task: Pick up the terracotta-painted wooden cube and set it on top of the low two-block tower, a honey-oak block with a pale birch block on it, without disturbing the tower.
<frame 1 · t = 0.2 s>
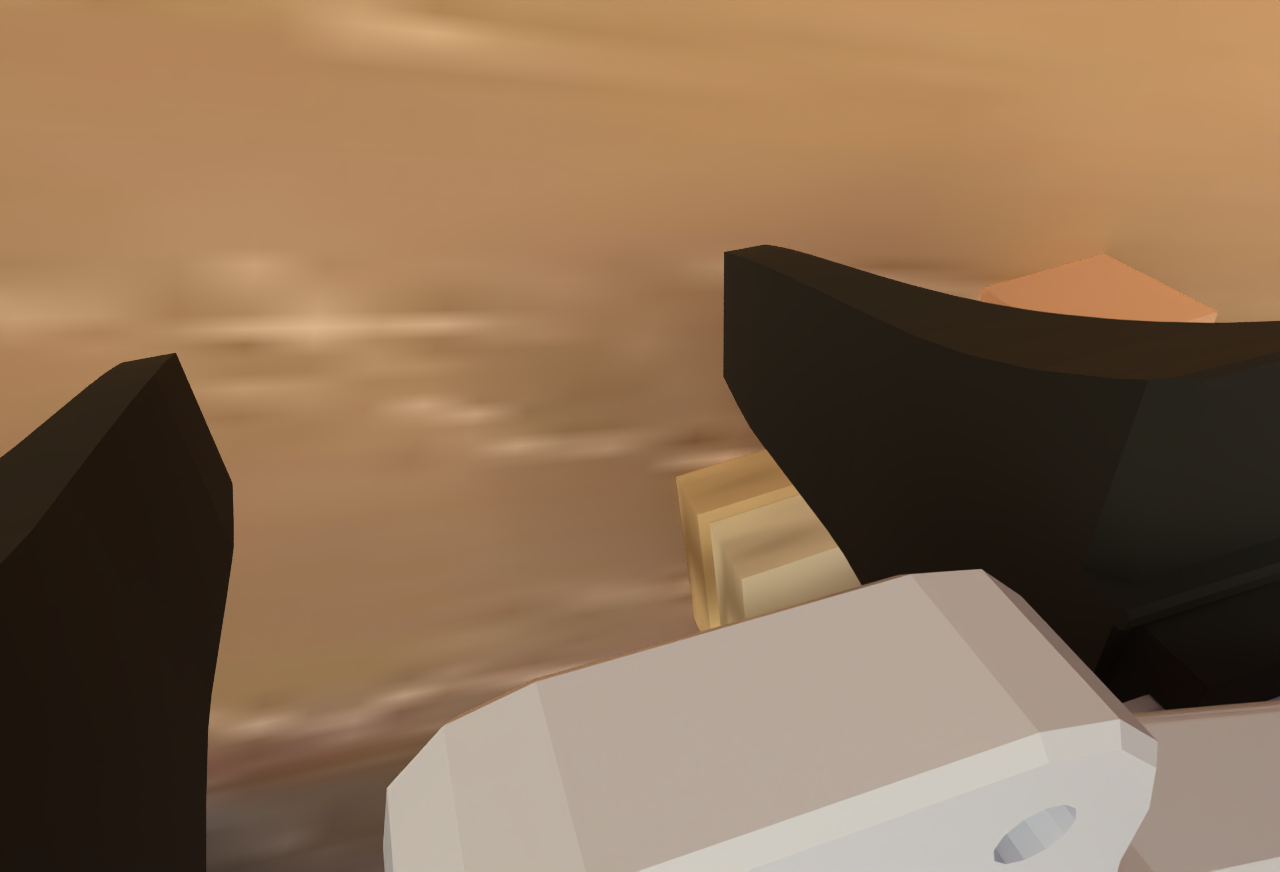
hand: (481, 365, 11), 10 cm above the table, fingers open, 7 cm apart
top block: (799, 561, 28), point 2 cm above the table, touching bottom block
bottom block: (772, 514, 30), on the table, touching top block
cube: (1031, 329, 28), on the table
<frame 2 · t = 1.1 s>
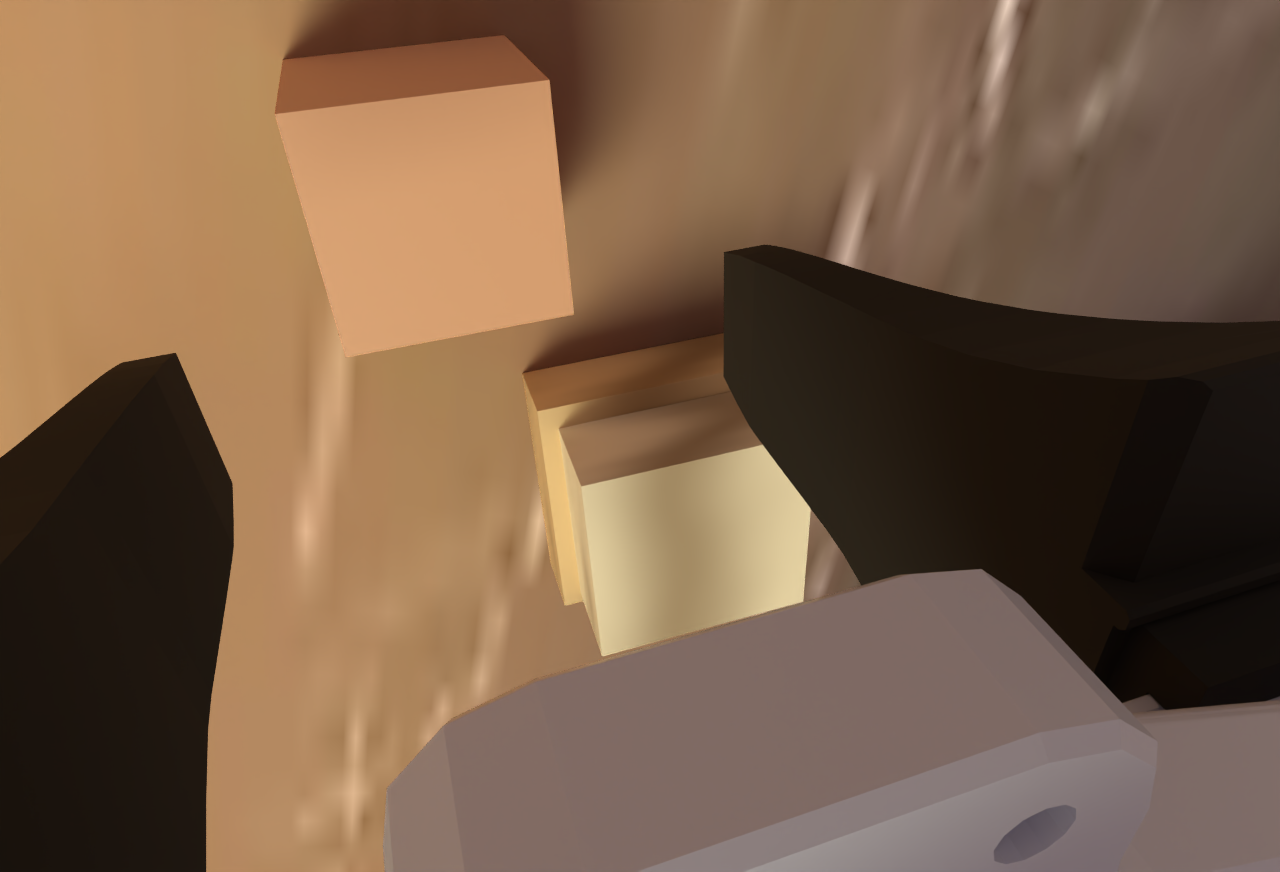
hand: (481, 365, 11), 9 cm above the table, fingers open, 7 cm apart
top block: (673, 492, 24), point 2 cm above the table, touching bottom block
bottom block: (645, 439, 26), on the table, touching top block
cube: (418, 155, 19), on the table
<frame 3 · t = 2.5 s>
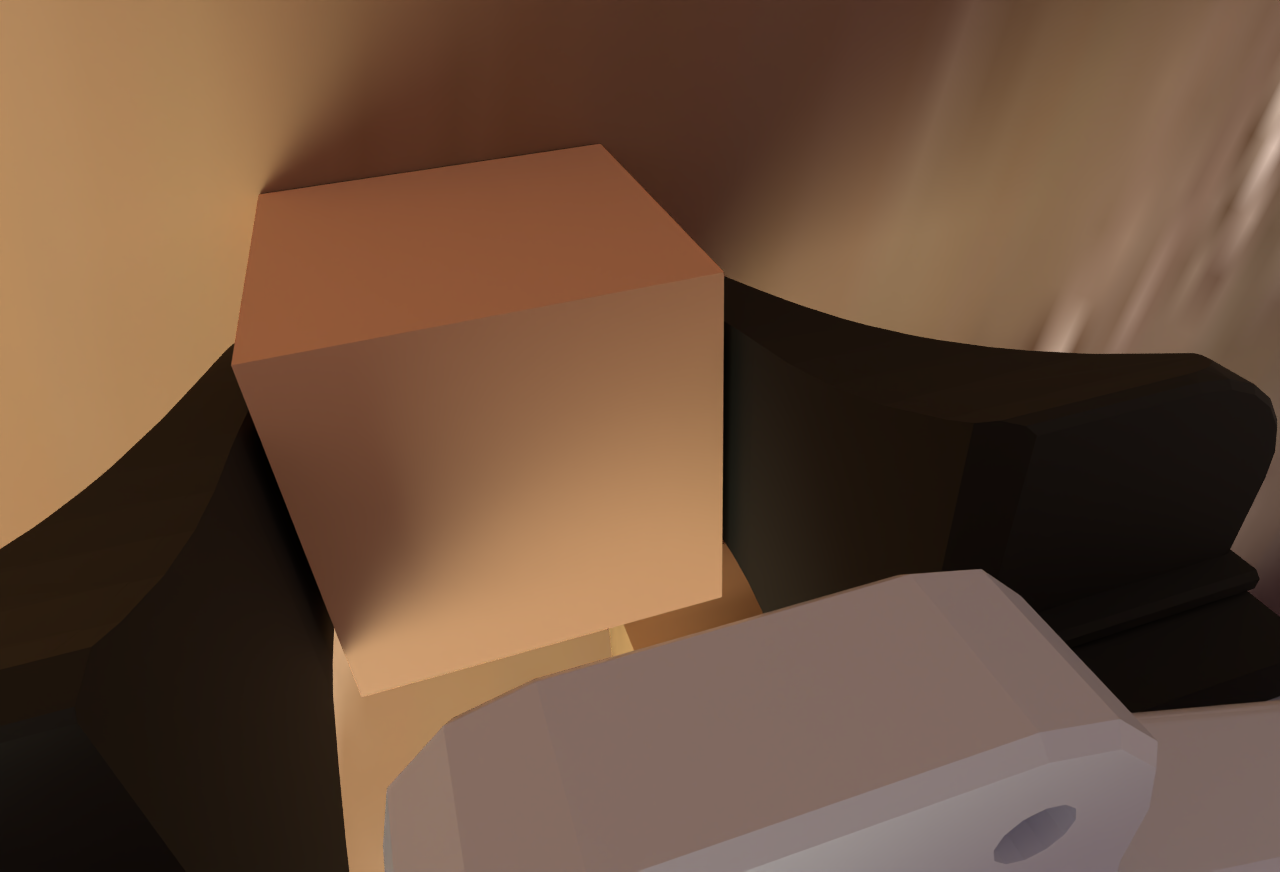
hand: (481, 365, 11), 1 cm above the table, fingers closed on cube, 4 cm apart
bottom block: (754, 631, 19), on the table, touching top block
cube: (466, 319, 12), on the table, touching gripper
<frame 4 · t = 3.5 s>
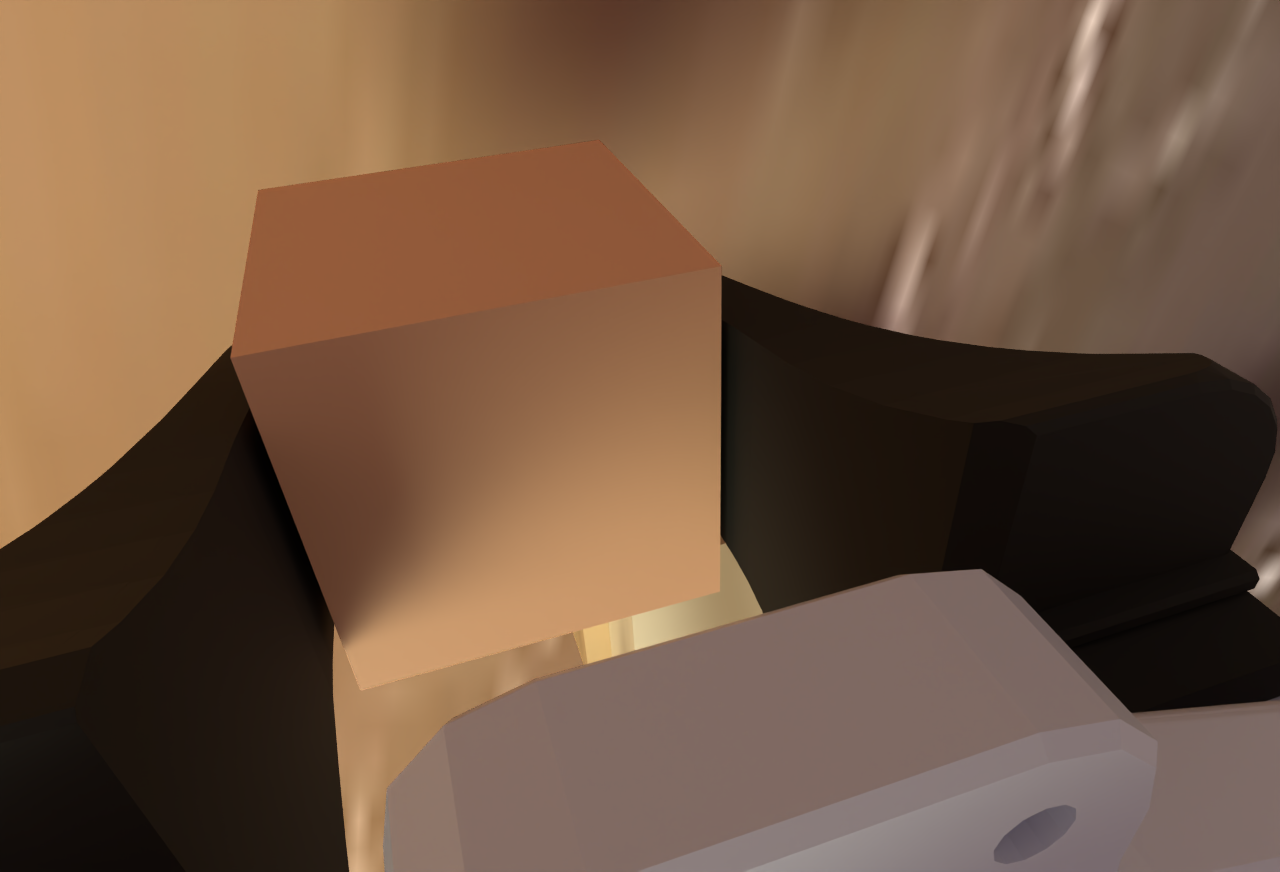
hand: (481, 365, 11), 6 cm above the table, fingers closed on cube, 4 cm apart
top block: (718, 558, 21), point 2 cm above the table, touching bottom block
bottom block: (678, 500, 23), on the table, touching top block
cube: (465, 315, 12), point 5 cm above the table, touching gripper
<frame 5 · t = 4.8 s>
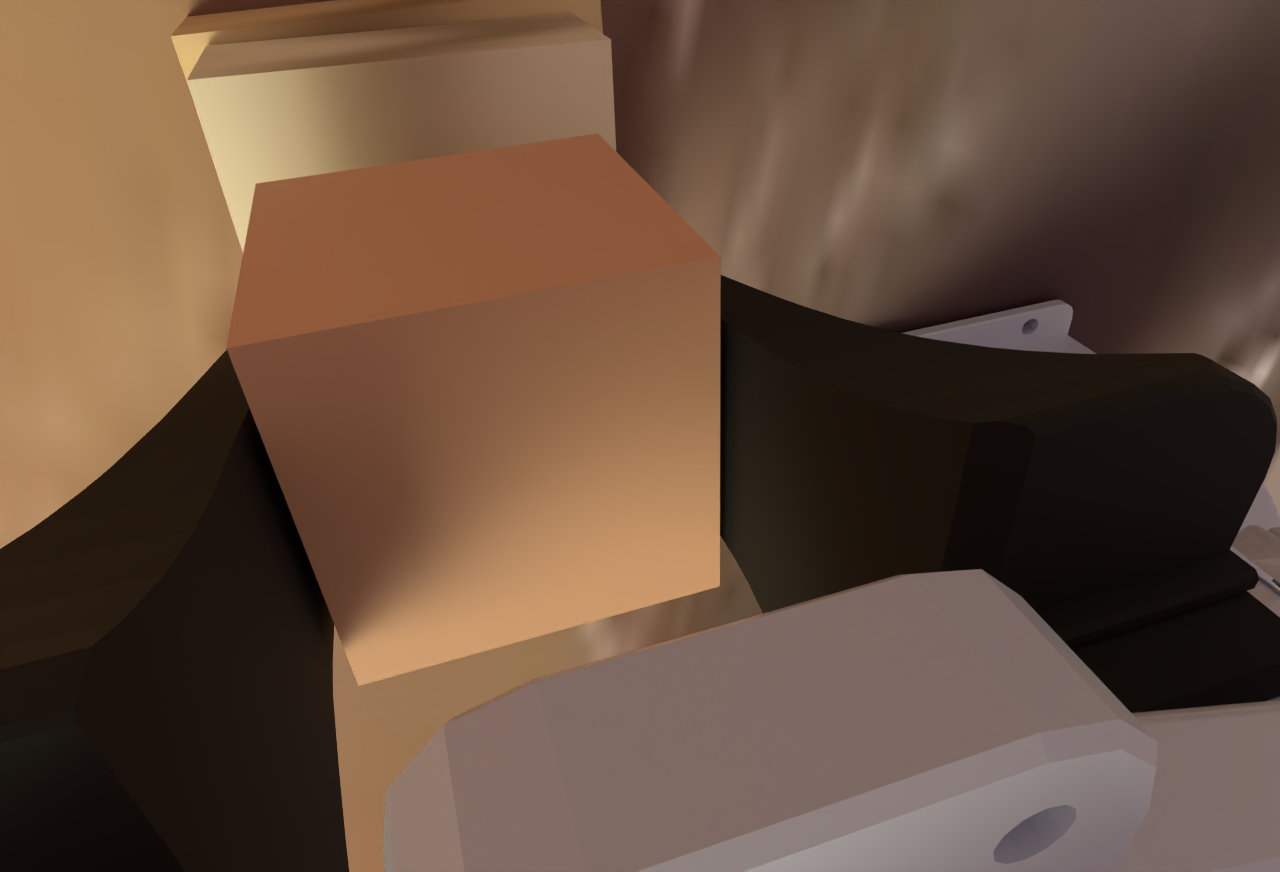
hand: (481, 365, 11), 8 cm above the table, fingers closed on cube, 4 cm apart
top block: (429, 203, 16), point 2 cm above the table
bottom block: (425, 174, 18), on the table
cube: (464, 309, 12), point 6 cm above the table, touching gripper
when the fingers open (7 cm above the table, at t = 5.7 s): cube stays where it is, point 5 cm above the table.
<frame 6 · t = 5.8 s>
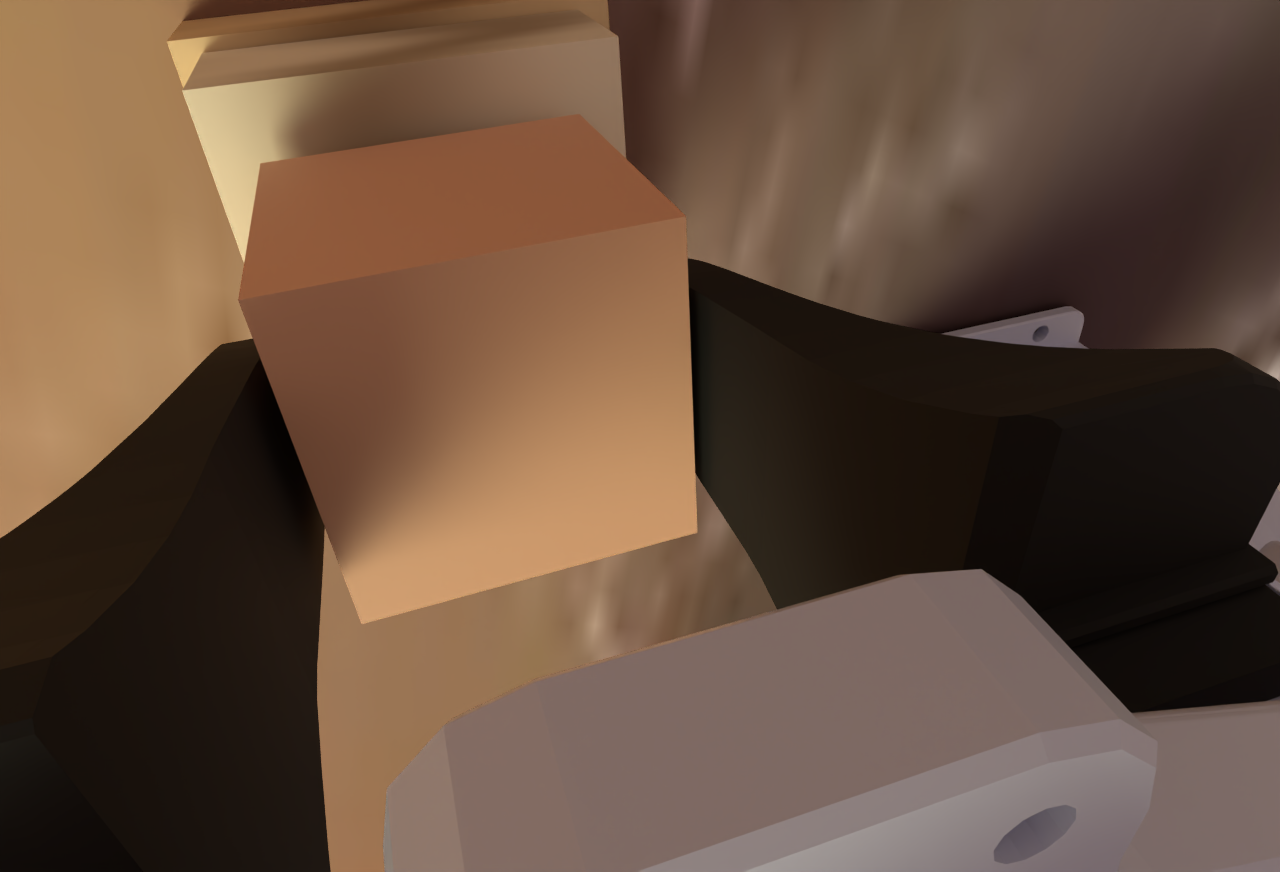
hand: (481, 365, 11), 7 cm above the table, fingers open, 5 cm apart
top block: (435, 208, 15), point 2 cm above the table, touching bottom block
bottom block: (427, 180, 18), on the table, touching top block
cube: (456, 282, 13), point 5 cm above the table
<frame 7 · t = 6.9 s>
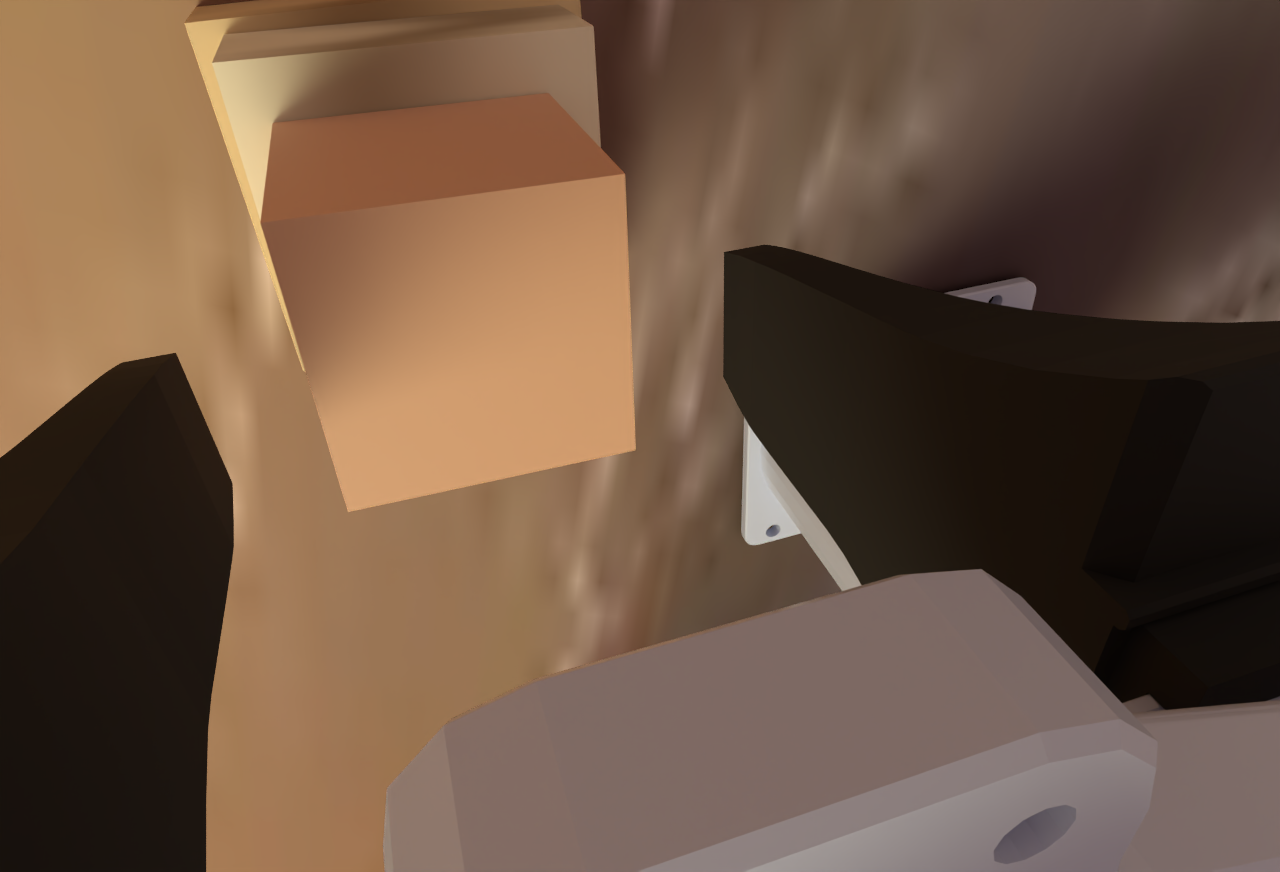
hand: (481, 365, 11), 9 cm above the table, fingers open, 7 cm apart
top block: (428, 181, 17), point 2 cm above the table, touching bottom block, cube
bottom block: (418, 155, 19), on the table, touching top block
cube: (438, 236, 15), point 4 cm above the table, touching top block
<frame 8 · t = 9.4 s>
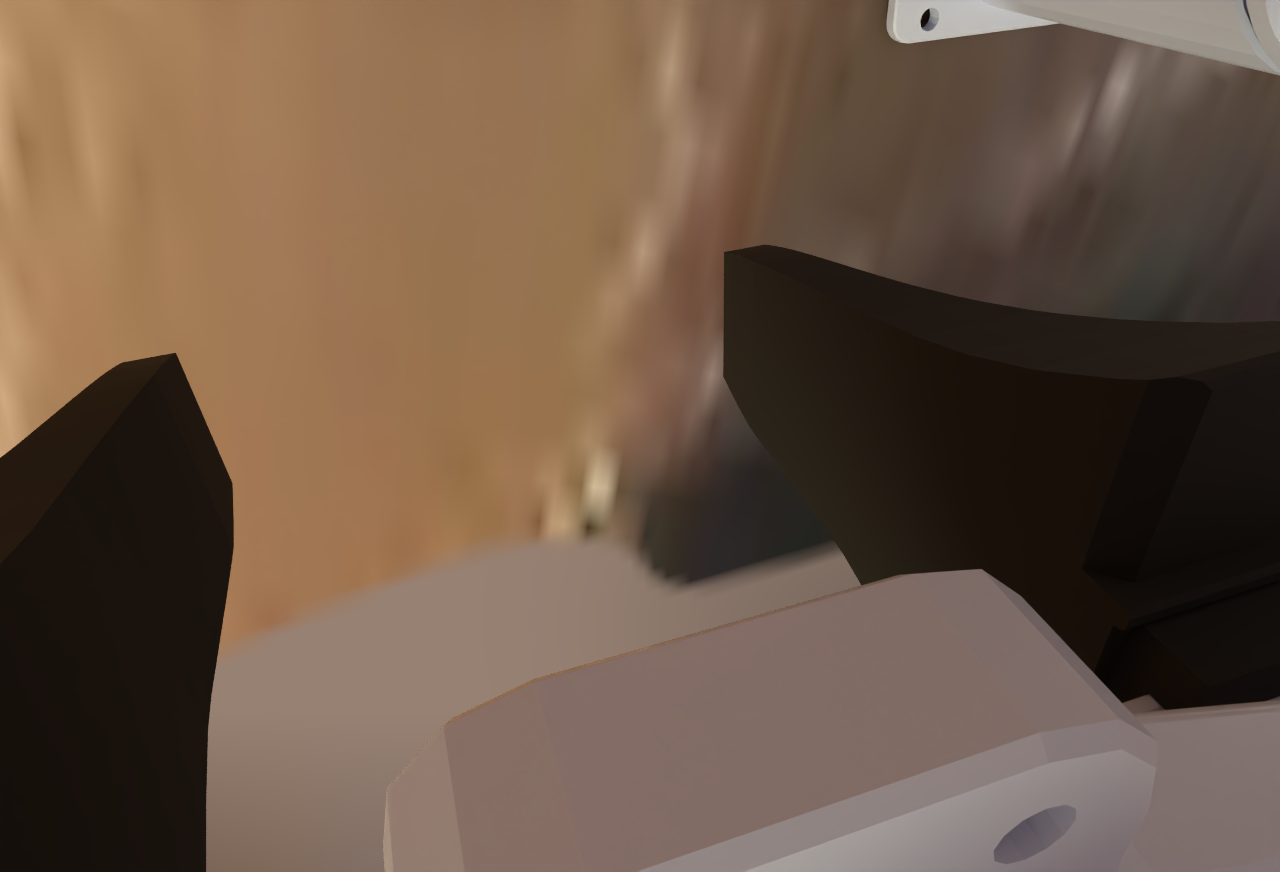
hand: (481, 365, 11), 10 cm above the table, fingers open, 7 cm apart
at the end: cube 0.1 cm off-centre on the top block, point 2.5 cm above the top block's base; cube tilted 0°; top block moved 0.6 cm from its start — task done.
